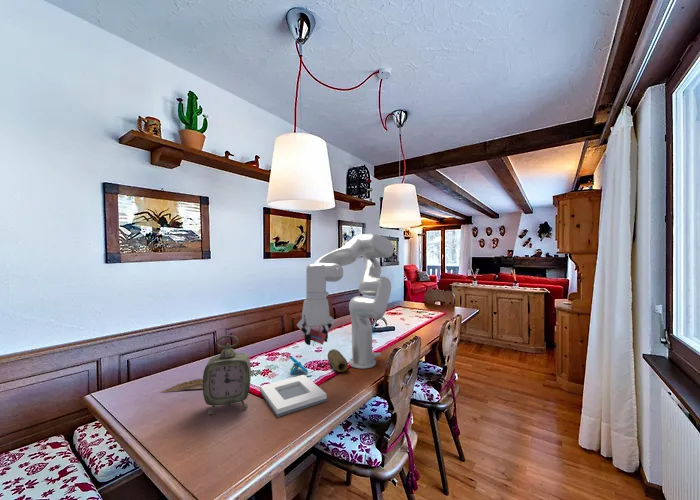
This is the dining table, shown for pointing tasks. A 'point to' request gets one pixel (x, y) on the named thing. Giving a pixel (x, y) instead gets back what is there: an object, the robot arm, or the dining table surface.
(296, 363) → the gear
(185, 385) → the wooden fragment
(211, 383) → the tabletop clock
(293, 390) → the square picture frame
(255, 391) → the dining table surface
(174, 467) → the dining table surface
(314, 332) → the geometric puzzle
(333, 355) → the stone weight
